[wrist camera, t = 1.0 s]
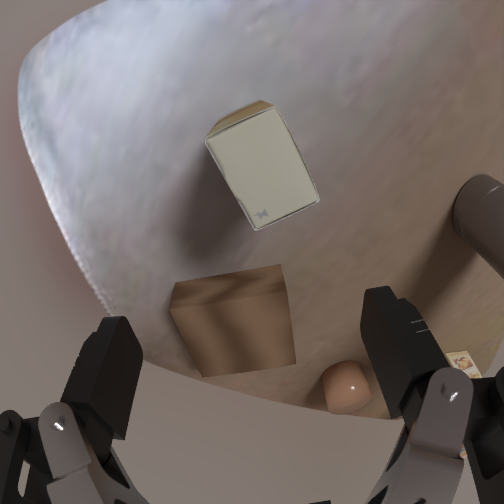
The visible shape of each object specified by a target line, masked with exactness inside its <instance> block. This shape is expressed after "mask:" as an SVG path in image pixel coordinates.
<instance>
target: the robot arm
mask: <svg viewBox="0 0 504 504" xmlns="http://www.w3.org/2000/svg"><path fill="white" fill-rule="evenodd" d="M453 225H454V228H455V231H456V232H457V234H458V235H459V236H460V237H461V238H462V239H463V240H464V241H466V242H467V243H468V244H469V245H470V246H471V247H472V248H473V249H474V250H475V251H476V252H477V253H478V254H479V255H480V256H481V257H482V258H483V259H484V260H485V261H486V262H487V263H488V264H489V265H490V266H491V267H492V268H493V269H494V270H495V271H496V272H497V273H498V274H499V275H500V276H501V277H502V278H503V279H504V184H502V183H501V182H499V181H497V180H495V179H494V178H492V177H490V176H488V175H484V174H483V175H478V176H475V177H473V178H472V179H470V180H469V181H468V182H467V183H466V184H465V185H464V187H463V188H462V190H461V191H460V193H459V195H458V197H457V199H456V202H455V205H454V210H453ZM360 330H361V336H362V340H363V343H364V345H365V348H366V350H367V353H368V355H369V358H370V361H371V363H372V366H373V368H374V371H375V374H376V376H377V379H378V382H379V385H380V387H381V390H382V393H383V396H384V399H385V401H386V404H387V407H388V410H389V413H390V416H391V419H392V418H396V417H399V416H403V419H404V422H405V424H404V426H403V428H402V431H401V433H400V436H399V438H398V441H397V443H396V445H395V448H394V450H393V452H392V454H391V457H390V459H389V461H388V463H387V465H386V468H385V470H384V471H383V474H382V475H381V477H380V479H379V480H378V482H377V483H376V485H375V487H374V488H373V490H372V491H371V493H370V495H369V497H368V498H367V500H366V502H365V504H451V503H452V501H453V498H454V495H455V493H456V489H457V487H458V484H459V481H460V478H461V475H462V471H463V467H464V459H463V458H461V457H460V450H461V447H462V443H463V444H464V447H465V450H466V454H467V457H468V460H469V463H470V467H471V470H472V474H473V478H474V481H475V485H476V489H477V493H478V497H479V501H480V504H504V367H502V368H501V369H500V370H499V371H498V373H497V374H496V376H495V377H489V378H469V376H468V375H467V374H466V373H465V372H463V371H462V370H460V369H457V368H453V367H451V366H450V365H449V363H448V361H447V359H446V358H445V356H444V354H443V352H442V351H441V349H440V347H439V345H438V343H437V342H436V340H435V338H434V337H433V335H432V333H431V332H430V330H428V326H427V325H426V323H425V322H424V321H423V318H422V317H421V315H420V313H419V312H418V310H417V309H416V307H415V306H413V305H412V304H411V303H410V302H408V301H407V300H406V299H404V298H402V299H397V298H396V296H395V295H394V293H393V291H392V290H391V288H390V287H389V286H382V287H376V288H370V289H366V291H365V294H364V301H363V308H362V315H361V322H360ZM142 362H143V352H142V348H141V345H140V343H139V341H138V339H137V337H136V336H135V334H134V332H133V330H132V328H131V326H130V324H129V322H128V320H127V318H126V317H124V316H116V317H104V318H103V319H102V321H101V323H100V326H99V327H98V330H97V332H93V333H92V334H91V335H90V336H89V338H88V339H87V340H86V341H85V342H84V344H83V346H82V348H81V351H80V353H79V357H77V360H76V362H75V366H74V367H73V370H72V372H71V375H70V377H69V379H68V382H67V384H66V387H65V389H64V392H63V395H62V397H61V400H60V402H55V403H52V404H50V405H49V406H47V407H46V408H45V409H44V410H43V411H42V413H41V415H40V417H34V418H28V419H23V418H22V417H21V416H20V415H19V414H18V413H17V412H15V411H13V410H7V411H4V412H3V413H2V414H0V504H149V503H148V502H147V500H146V499H145V498H144V497H143V496H141V494H140V493H139V492H138V491H137V490H136V488H135V487H134V485H133V483H132V481H131V480H130V478H129V476H128V475H127V473H126V471H125V469H124V467H123V466H122V464H121V462H120V460H119V458H118V457H117V455H116V453H115V451H114V449H113V448H112V447H111V444H112V439H118V440H125V436H126V431H127V426H128V422H129V417H130V412H131V408H132V403H133V399H134V395H135V391H136V386H137V382H138V378H139V374H140V370H141V367H142ZM23 460H24V461H25V462H27V463H28V464H30V470H29V474H28V479H27V484H26V489H25V494H24V496H23V497H21V495H20V494H19V491H18V482H19V477H20V473H21V468H22V464H23ZM310 504H331V502H330V500H328V501H323V502H316V503H310Z"/></svg>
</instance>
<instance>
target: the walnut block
mask: <svg viewBox="0 0 504 504" xmlns="http://www.w3.org/2000/svg"><path fill="white" fill-rule="evenodd" d="M170 312H171V314H172V316H173V319H174V321H175V323H176V325H177V327H178V329H179V331H180V334H181V336H182V338H183V340H184V342H185V344H186V346H187V348H188V350H189V352H190V354H191V356H192V358H193V360H194V362H195V364H196V366H197V368H198V370H199V372H200V373H201V375H202V377H210V376H219V375H227V374H235V373H243V372H250V371H257V370H263V369H269V368H275V367H281V366H287V365H292V364H296V356H295V348H294V341H293V333H292V325H291V318H290V311H289V303H288V296H287V290H286V285H285V281H284V277H283V273H282V269H281V264H279V265H274V266H268V267H263V268H257V269H251V270H246V271H240V272H234V273H229V274H223V275H217V276H211V277H206V278H200V279H194V280H188V281H182V282H176V284H175V288H174V292H173V297H172V301H171V305H170Z"/></svg>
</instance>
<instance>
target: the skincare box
mask: <svg viewBox="0 0 504 504" xmlns="http://www.w3.org/2000/svg"><path fill="white" fill-rule="evenodd" d="M204 143H205V145H206V146H207V148H208V150H209V152H210V154H211V155H212V157H213V159H214V161H215V163H216V164H217V166H218V168H219V170H220V171H221V173H222V175H223V177H224V179H225V180H226V182H227V184H228V186H229V187H230V189H231V191H232V192H233V194H234V196H235V198H236V199H237V201H238V203H239V205H240V206H241V208H242V210H243V212H244V213H245V215H246V217H247V219H248V220H249V222H250V224H251V225H252V227H253V229H254V230H255V231H258V230H260V229H262V228H264V227H266V226H269V225H271V224H273V223H275V222H278V221H280V220H282V219H284V218H287V217H289V216H291V215H293V214H296V213H298V212H300V211H302V210H304V209H306V208H308V207H310V206H312V205H314V204H316V203H318V202H319V200H320V198H319V195H318V192H317V189H316V187H315V184H314V181H313V179H312V176H311V174H310V171H309V169H308V167H307V165H306V162H305V160H304V158H303V156H302V154H301V152H300V150H299V147H298V145H297V143H296V141H295V139H294V137H293V135H292V133H291V132H290V130H289V128H288V126H287V124H286V122H285V120H284V118H283V117H282V115H281V113H280V111H279V109H278V108H277V106H275V105H272V104H269V103H267V102H264V101H261V100H259V101H256V102H254V103H252V104H249V105H247V106H245V107H243V108H240V109H238V110H236V111H234V112H232V113H230V114H228V115H226V116H224V117H222V118H221V119H220V120H219V121H218V122H217V123H216V125H215V126H214V127H213V129H212V130H211V131H210V132H209V134H208V135H207V136H206V137H205V139H204Z"/></svg>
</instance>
